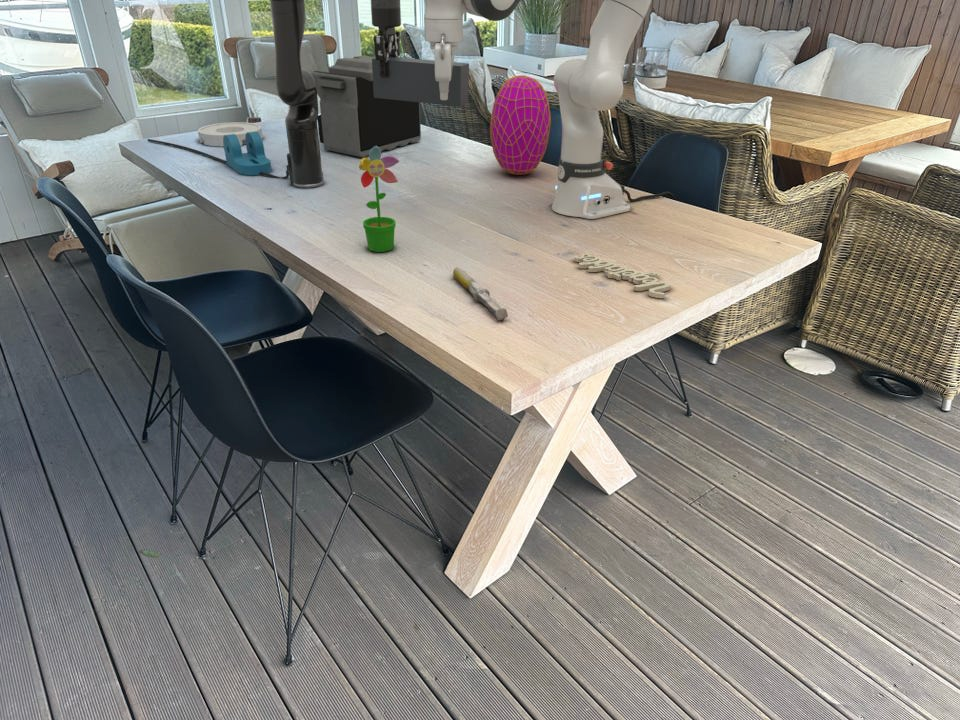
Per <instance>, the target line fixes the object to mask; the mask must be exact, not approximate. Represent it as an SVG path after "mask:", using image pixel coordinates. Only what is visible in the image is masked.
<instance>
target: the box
mask: <svg viewBox="0 0 960 720" xmlns="http://www.w3.org/2000/svg"><path fill="white" fill-rule="evenodd" d="M388 69H389V77H388V78H381V77H380V63H379V62H378V60H376V58H373V59H372V72H373V92H374V98H382V99H392V100H402V101H412V102H420V104H421V103H424V104H432V105H441V106H442V105H443V106H450V107H451V106H452V107H462V106H465V105H466V104H469V92H470V91H469V90H470V89H469V88H470V87H469V85H470V83H469V82H470V76H469V75H470V63H469V62H457V61H454V63H453V69H452V76H451V81H449V92H448V99H447V100H441V99H440V89H439V81H436V80H435V59H433V60H432V59H421V58H409V57H399V56H398V57H389V59H388Z"/></svg>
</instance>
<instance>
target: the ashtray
mask: <svg viewBox="0 0 960 720" xmlns="http://www.w3.org/2000/svg"><path fill="white" fill-rule="evenodd" d="M255 131H257V132H258V133H259V134H260V136H261V138H262V139H264V137H263V130H262V126H261V125H260V124H257V123H254V122H242V121H237V122H236V121H235V122H234V121H231V122H219V123H213V124H208V125H204V126H202V127H199V128H198V129H197V134H198V138H199V143H200V144H204V145H205V146H208V147H209V146H210V147H224V144H223V137H224V135H230V134H235V135H236V136H237V138H238V140H239V142H240V146H243V145H246V139H245V137H246V133H247V132H255Z"/></svg>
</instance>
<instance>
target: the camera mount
mask: <svg viewBox="0 0 960 720" xmlns="http://www.w3.org/2000/svg"><path fill="white" fill-rule="evenodd" d="M245 139H246V144H245V146H246V152H243V151H242V150H243V149H242V145H240V142H239V140H238V138H237V136H236V135H235V134H230V135H224V137H223V144H224V146H223V149H224V150H223V151H224V156H225V161H226V162H227V164H226V165H227V166H228V167H230V168H231V169H232V170H234V171H236V172H237V173H238V174H239V175H244V176H260V174H259V173H260V172H263V173H268V174H270V173H271V172H272V164H271V159H270V158H268V157H267V156H266V153H265V145H264V141H263V138H261V136H260V134H259V133H258V132H257V131H255V132H247V133H246V137H245Z"/></svg>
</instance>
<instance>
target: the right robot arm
mask: <svg viewBox="0 0 960 720" xmlns="http://www.w3.org/2000/svg"><path fill="white" fill-rule="evenodd" d="M521 1H522V0H424V5H425V10H424V15H423V23H424V25H423V26H424V27H423V28H424V29H423V31H424V32H423V33H424V41H425V42H428V43H429V44H430V45H429V48H430V49H431V50H434V61H435V80H436V81H439V89H440V99H441V100H447V99H448V92H449V81H451V76H452V69H453V63H454V62H455V53H456V50H458V45H459V44H458V43H460V42H463V40H464V14H466V13H467V14H470V15H473V16H475V17H481V18H483V19H486V20H487V21H492V22H499V21H503V20H506V19H507V18H509V16H510V15H511V14H512V13H513V12H514V11H515V9H516V8H517V6H519V4H520V2H521ZM652 1H653V0H603V1H602V4H601V6H600V8H599V10H598V12H597V14H596V16H595V19H594V20H593V23H592V24H591V27H590V29H589V37H590V41H589V46H588V51H587V55H586V58H585V59H583V58H574V59H573V58H572V59H569V60H565V61H563V62H562V63H561V64H559V66H558V67H557V68H556V70H555V72H554V76H553V85H554V88H555V91H556V93H557V97H558V105H559V111H560V112H559V113H560V119H561V146H560V157H559V158H558V164H557V165H558V167H557V185H555V187H554V189H555V190H556V191H555V195H554V199H553V202H552V204H551V207H550V208H551V211H553V212H554V213H556V214H560V215H563V216H566V217H574V218H575V217H576V218H583V219H587V220H595V219H596V220H597V219H601V218H604V217H608V216H615V215H617V214H622V213H627V212H630V211H631V206H630V204H629V203H628V202H627V201H626V200H624V194H626V196H627V200H628V201H629V202H631V203H635V202H639V201H641V200H646V199H654V198H660V197H663V196H665V195H666V196H667V195H668V196H669V197H671V198H672V197H673V198H674V197H675V195H674V194H673V193H672V192H670V191H663V192H660V193H657V194H649V195H642V196H641V195H640V196H638V197H636V198H632V197H631V194H630V192H629V190H627V189H625V187H626V186H625V185H623V184H621V183H618V182H617V181H616V180H614V179H613V178H612V177H611V176H610V175H609V174H607V173H606V169H607V170H608V171H611V170H612V169H613V168H614V164H613V162H610V161H608V160H606V161H605V160H603V159H602V153H603V144H604V143H603V142H604V128H603V125H602V122H601V120H600V114H599V112H604V111H609V110H612V109H613V108H614V107H616V106H617V105H618V104H619V103H620V101H621V99H622V97H623V94H624V82H623V73H624V68H625V64H626V60H627V57H628V53H629V50H630V48H631V46H632V44H633V42H634V39H635V38H636V36H637V33H638V31H639V30H640V27H641V25H642V23H643V21H644V20H645V17H646V15H647V13H648V11H649V9H650V6H651V3H652Z"/></svg>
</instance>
